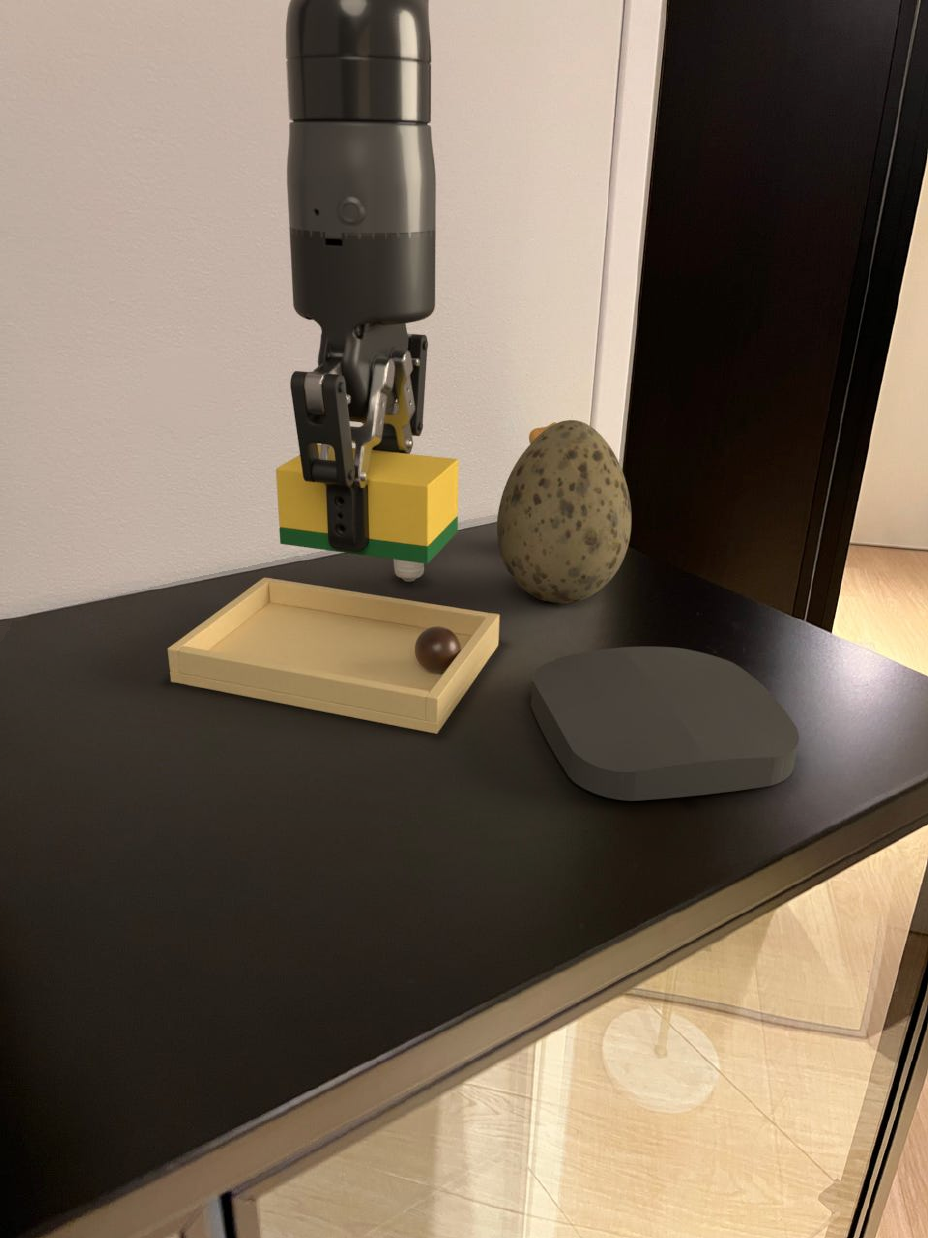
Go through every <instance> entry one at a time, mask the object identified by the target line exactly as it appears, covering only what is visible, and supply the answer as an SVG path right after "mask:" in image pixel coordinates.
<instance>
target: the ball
mask: <svg viewBox="0 0 928 1238" xmlns="http://www.w3.org/2000/svg"><path fill="white" fill-rule="evenodd" d="M460 651H461V646H460V642H459V640H458V638H457V636H456V635H455V634H454V633H453V632H452V631H451V630H449V629H447V628H444V627H431V628H428V629H426V630H425V631H423V632H422V633H421V634H420V635H419V637H418V639H417V641H416V643H415V656H416V659H417V661H418V662H419V664H420V665H421V666H422V667H423V668H425V669H426V670H428V671H430V672H435V673H440V672H445V671H446V670H447V668H448V667H449V666H450V664H451V663H452V662H453V660H454V659H455V658H456V657H457V655H458V654H459V653H460Z"/></svg>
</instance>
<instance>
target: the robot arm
mask: <svg viewBox="0 0 928 1238" xmlns="http://www.w3.org/2000/svg"><path fill="white" fill-rule="evenodd" d="M429 3H430V0H290V1H289V3H288V8H287V15H286V21H285V22H286V23H285V59H286V61H285V65H286V81H287V82H286V85H287V86H286V87H287V105H288V106H287V107H288V109H287V110H288V120H289V121H291V122H289V123H288V148H287V160H286V187H287V188H286V189H287V206H288V210H287V211H288V226H289V227H288V228H289V229H288V231H289V248H290V269H291V288H292V307H293V309H294V311H295V312H296V314H297V315H298V316H299V317H301V318H302V319H305V320H308V321H314V322H315V323H316V324H318V326H319V327H320V330H321V332H320V333H321V334H320V342H319V348H318V355H317V367H316V368H314V370H312V371H300V370H295V371H293V372H292V374H291V377H290V382H289V383H290V384H289V386H290V394H291V401H292V402H291V403H292V407H293V415H294V422H295V430H296V436H297V444H298V450H299V455H300V458H301V465H302V472H303V478H304V480H305V481H307V482H319V483H323V484H325V485H326V499H327V524H328V542H329V544H330V546H331V547H332V548H334V549H339V550H346V551H353V552H360V551H362V550H363V549H364V548H366V547H367V546H368V544H369V502H368V485H366V484H367V480H368V473H369V465H370V458H371V450H376V451H386V452H395V453H405V454H411V452H412V449H413V446H414V439H413V437H420V436H421V435H422V432H423V429H424V411H425V410H424V409H425V395H426V394H425V392H426V378H427V377H426V376H427V362H428V348H429V341H428V337H427V335H426V334H419V333H408V330H407V324H409V323H416V322H419V321H423V320H426V319H427V318H429V317H430V316H431V315H432V314H433V313H434V312H435V308H436V238H437V237H436V233H437V231H436V230H437V229H436V224H437V223H436V218H437V215H436V214H437V207H436V206H437V177H436V164H435V163H436V162H435V155H434V147H433V137H432V126H431V125H430V124H431V122H432V42H431V41H432V40H431V28H430V4H429ZM350 422H353V423H354V422H355V423H361V424H362V425H361V426H351V423H350ZM318 444H320V445H321V451H320V459H319V452H318ZM353 444H355V447H354V448H355V454H354V458H353V449H352V448H353Z"/></svg>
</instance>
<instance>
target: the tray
mask: <svg viewBox="0 0 928 1238" xmlns="http://www.w3.org/2000/svg"><path fill="white" fill-rule="evenodd" d="M431 627H444V628H447V629H449V630H451V631H452V632H453V633H454V634H455V635H456V636H457V638H458V640H459V642H460V646H461V651H460V653H459V654H458V655H457V657H456V658H455V659H454V660H453V662H452V663H451V664H450V666H449V667H448V668H447V670H446V671H445V672H440V673H435V672H430V671H428V670H426V669H425V668H423V667H422V666H421V665H420V664H419V662H418V661H417V659H416V656H415V643H416V641H417V639H418V637H419V635H420V634H421V633H422V632H423V631H425V630H426V629H428V628H431ZM499 635H500V614H499V613H493V612H486V611H485V612H484V611H479V610H474V609H473V610H472V609H466V608H461V607H460V608H459V607H455V606H447V605H440V604H435V603H429V602H421V601H416V600H410V599H403V598H396V597H390V596H386V595H385V596H384V595H379V594H372V593H366V592H359V591H353V590H346V589H340V588H335V587H334V588H333V587H328V586H321V585H315V584H308V583H304V582H303V583H302V582H296V581H289V580H284V579H277V578H270V577H263V578H260V580H259V581H257V582H256V583H255V584H253V585H251V587H249V588H247V589H246V590H245V591H244V592H242V593H241V594H239V596H237V597H236V598H234V599H232V600H231V601H230V602H228V604H226V605H225V606H223V607H221V609H219V610H218V611H216V612H215V613H214V614H212V615H211V616H210V617H209V618H207V619H206V620H203V622H202V623H200V624H199V625H197V626H196V627H195V628H194V629H191V631H189V632H187V634H185V635H184V636H183V637H181V638H180V639H178V640H177V641H176V642H174V643H173V644H172V645H171V646H169V647H168V648H167V655H168V663H169V671H170V672H169V676H170V682H171V683H176V684H180V685H186V686H189V687H196V688H201V689H207V690H211V691H217V692H222V693H226V694H232V695H237V696H241V697H248V698H250V699H251V698H252V699H258V700H262V701H267V702H272V703H277V704H282V705H287V706H293V707H299V708H303V709H308V710H313V711H319V712H324V713H327V714H328V713H329V714H334V715H339V716H343V717H344V716H345V717H349V718H354V719H360V720H365V721H370V722H374V723H379V724H383V725H389V726H395V727H399V728H405V729H410V730H416V731H420V732H425V733H431V734H436V735H438V734H439V732H440V730H441V729H442V727H443V726H444V725H445V723H446V722H447V721H448V719H449V718H450V717H451V715H452V713H453V712H454V710H455V709H456V707H457V706H458V704H459V703H460V702H461V700H462V699H463V697H464V696H465V694H466V693H467V692H468V690H469V689H470V687H471V686H472V684H473V683H474V681H475V680H476V678H477V677H478V675H479V674H480V673H481V671H482V670H483V668H484V667H485V665H486V664H487V663H488V661H489V660H490V658H491V656H492V655H493V654H494V652H495V651H496V650H497V648H498V647H499V640H500V639H499V638H500V637H499Z"/></svg>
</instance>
